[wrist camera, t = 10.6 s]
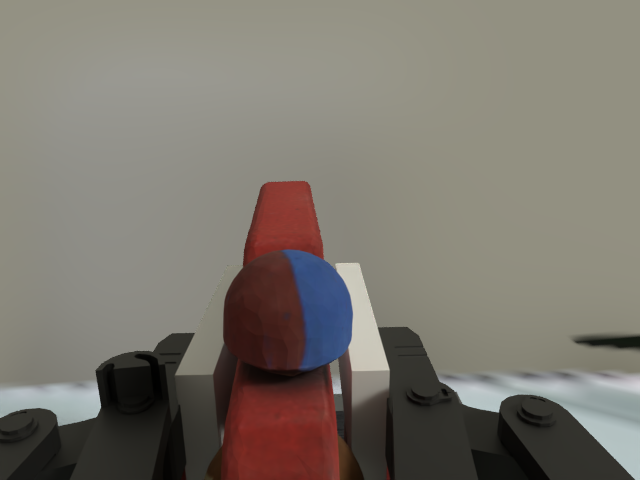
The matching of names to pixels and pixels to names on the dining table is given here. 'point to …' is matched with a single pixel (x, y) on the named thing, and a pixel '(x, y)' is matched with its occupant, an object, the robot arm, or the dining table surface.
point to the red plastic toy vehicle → (285, 349)
